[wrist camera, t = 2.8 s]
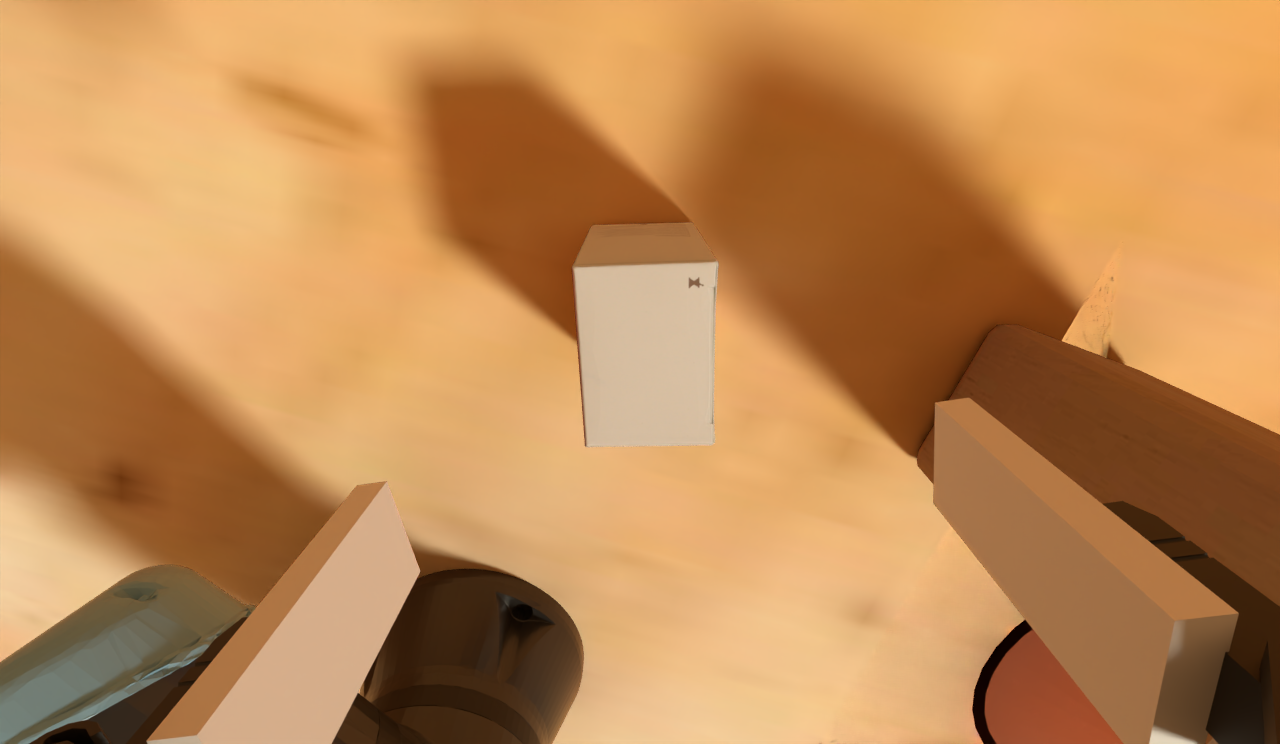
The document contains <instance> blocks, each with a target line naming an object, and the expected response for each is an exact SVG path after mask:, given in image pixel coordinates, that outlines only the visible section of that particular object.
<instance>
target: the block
mask: <svg viewBox="0 0 1280 744" xmlns="http://www.w3.org/2000/svg"><path fill="white" fill-rule="evenodd" d="M963 398H970V399H972V400H973V401H974V402H975V403H977V404H978V405H979V406H980V407H982V408H983V409H984V410H985V411H987V412H988V413H989V414H990V415H992V416H993V417H994V418H995V419H997V420H998V421H999V422H1000V423H1002V424H1003V425H1004V426H1005V427H1007V428H1008V429H1009V430H1010V431H1012V432H1013V433H1014V434H1015V435H1017V436H1018V437H1019V438H1020V439H1022V440H1023V441H1024V442H1025V443H1027V444H1028V445H1029V446H1030V447H1032V448H1033V449H1034V450H1035V451H1037V452H1038V453H1039V454H1040V455H1042V456H1043V457H1044V458H1045V459H1047V460H1048V461H1049V462H1050V463H1052V464H1053V465H1054V466H1055V467H1057V468H1058V469H1059V470H1060V471H1062V472H1063V473H1064V474H1065V475H1067V476H1068V477H1069V478H1070V479H1072V480H1073V481H1074V482H1075V483H1077V484H1078V485H1079V486H1080V487H1082V488H1083V489H1084V490H1085V491H1087V492H1088V493H1089V494H1090V495H1092V496H1093V497H1094V498H1095V499H1097V500H1098V501H1099V502H1100V503H1102V504H1103V503H1111V502H1118V501H1124V502H1126V503H1128V504H1131V505H1133V506H1135V507H1137V508H1140V509H1142V510H1144V511H1146V512H1149V513H1151V514H1153V515H1156V516H1158V517H1159V518H1160V519H1162V520H1163V521H1164V522H1166V523H1167V524H1169V525H1170V526H1171V527H1173V528H1174V529H1175V530H1177V531H1178V532H1179V533H1181V534H1182V535H1183V536H1185V539H1186V541H1189V540H1190V541H1192V542H1193V543H1194V544H1196V545H1197V546H1198V547H1200V548H1201V549H1202V550H1204V551H1205V552H1207V555H1208V557H1209V558H1215V559H1216V560H1217V561H1219V562H1220V563H1221V564H1223V565H1224V566H1226V567H1227V568H1228V569H1230V570H1231V571H1232V572H1234V573H1235V574H1236V575H1238V576H1239V577H1240V578H1242V579H1243V580H1244V581H1246V582H1247V583H1249V584H1250V585H1251V586H1253V587H1254V588H1255V589H1257V590H1258V591H1259V592H1261V593H1262V594H1263V595H1265V596H1266V597H1268V598H1269V599H1270V600H1272V601H1273V602H1274V603H1276V604H1277V605H1278V606H1280V435H1279V434H1277V433H1275V432H1272V431H1270V430H1268V429H1266V428H1264V427H1262V426H1259V425H1257V424H1255V423H1253V422H1251V421H1249V420H1246V419H1244V418H1242V417H1240V416H1238V415H1235V414H1233V413H1231V412H1229V411H1227V410H1225V409H1222V408H1220V407H1218V406H1216V405H1214V404H1211V403H1209V402H1207V401H1205V400H1203V399H1201V398H1198V397H1196V396H1194V395H1192V394H1190V393H1188V392H1185V391H1183V390H1181V389H1179V388H1177V387H1174V386H1172V385H1170V384H1168V383H1166V382H1164V381H1161V380H1159V379H1157V378H1155V377H1153V376H1150V375H1148V374H1146V373H1144V372H1142V371H1140V370H1137V369H1134V368H1132V367H1129V366H1126V365H1124V364H1121V363H1118V362H1116V361H1113V360H1110V359H1108V358H1105V357H1102V356H1100V355H1097V354H1094V353H1092V352H1089V351H1086V350H1084V349H1081V348H1078V347H1076V346H1073V345H1071V344H1068V343H1065V342H1063V341H1060V340H1057V339H1055V338H1052V337H1049V336H1047V335H1044V334H1041V333H1039V332H1036V331H1033V330H1031V329H1028V328H1025V327H1023V326H1020V325H1017V324H1014V325H997V326H996V327H995V328H994V329H993V330H991V331H990V332H989V333H988V335H987V337H986V338H985V340H984V342H983V343H982V345H981V347H980V348H979V350H978V352H977V354H976V355H975V357H974V359H973V360H972V362H971V364H970V365H969V367H968V369H967V370H966V372H965V374H964V375H963V377H962V379H961V380H960V382H959V384H958V385H957V387H956V389H955V390H954V392H953V394H952V395H951V397H950V399H949V400H956V399H963ZM949 400H948V401H949ZM934 433H935V424H934V426H933V427H932V429H931V431H930V432H929V434H928V436H927V437H926V439H925V441H924V442H923V444H922V446H921V447H920V449H919V451H918V456H917V464H918V467H919V468H920V469H921V470H922V471H923V473H924V474H925V475H926V476H927V477H928V478H929V480H930V481H931V482H932V483H933V484H934ZM1205 744H1218V743H1217V742H1216V741H1215V739H1214V738H1213V737H1212V736H1211V735H1210V734H1209V733H1208V735H1207V739H1206V743H1205Z"/></svg>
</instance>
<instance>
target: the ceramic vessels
mask: <svg viewBox="0 0 1280 744" xmlns="http://www.w3.org/2000/svg"><path fill="white" fill-rule="evenodd" d="M972 711H973V716H974V722H975V728H976V730H977V732H978V734H979V736H980V738H981V740H982V742H983V744H1123V742H1122V741H1121V740H1120V738H1119V737H1118V736H1117V735H1116V733H1115V732H1114V731H1113V730H1112V728H1111V727H1110V726H1109V725H1108V723H1107V722H1106V721H1105V720H1104V718H1103V717H1102V716H1101V714H1100V713H1099V712H1098V711H1097V709H1096V708H1095V707H1094V706H1093V704H1092V703H1091V702H1090V701H1089V699H1088V698H1087V697H1086V696H1085V694H1084V693H1083V692H1082V690H1081V689H1080V688H1079V687H1078V685H1077V684H1076V683H1075V682H1074V680H1073V679H1072V678H1071V677H1070V675H1069V674H1068V673H1067V672H1066V670H1065V669H1064V668H1063V666H1062V665H1061V664H1060V663H1059V661H1058V660H1057V659H1056V658H1055V656H1054V655H1053V654H1052V653H1051V651H1050V650H1049V649H1048V648H1047V646H1046V645H1045V644H1044V642H1043V641H1042V640H1041V639H1040V637H1039V636H1038V635H1037V634H1036V632H1035V631H1034V630H1033V629H1032V627H1031V626H1030V625H1029V624H1028V622H1027V621H1026V620H1024V621H1023V622H1021V623H1020V624H1019V625H1017V626H1016V627H1015V628H1014V629H1013V630H1012V631H1011V632H1010V633H1009V634H1008V635H1007V636H1006V637H1005V638H1004V639H1003V640H1002V642H1001V643H1000V644H999V645H998V646H997V647H996V648H995V650H994V651H993V653H992V654H991V656H990V657H989V659H988V660H987V662H986V663H985V665H984V667H983V668H982V670H981V673H980V676H979V678H978V681H977V684H976V686H975V689H974V698H973V707H972Z"/></svg>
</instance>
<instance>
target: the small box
mask: <svg viewBox="0 0 1280 744" xmlns="http://www.w3.org/2000/svg"><path fill="white" fill-rule="evenodd" d="M718 267H719V263H718V260H717V259H716V258H715V256H714V255H713V253H712V251H711V250H710V248H709V247H708V245H707V243H706V242H705V240H704V239H703V237H702V235H701V234H700V232H699V231H698V229H697V228H696V226H695V225H694V223H693V222H685V223H647V224H609V225H592V226H591V228H590V230H589V232H588V234H587V236H586V238H585V240H584V242H583V245H582V247H581V249H580V251H579V253H578V255H577V258H576V260H575V262H574V264H573V266H572V278H573V291H574V304H575V319H576V332H577V346H578V359H579V372H580V385H581V398H582V412H583V425H584V438H585V446H586V447H624V446H689V445H713V444H714V443H715V429H714V363H715V314H716V294H717V278H718Z"/></svg>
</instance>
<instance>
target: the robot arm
mask: <svg viewBox="0 0 1280 744" xmlns="http://www.w3.org/2000/svg"><path fill="white" fill-rule="evenodd" d="M933 503H934V505H935V506H936V507H937V509H938V510H939V511H940V512H941V514H942V515H943V516H944V517H945V519H946V520H947V521H948V522H949V524H950V525H951V526H952V527H953V529H954V530H955V531H956V533H957V534H958V535H959V536H960V538H961V539H962V540H963V541H964V543H965V544H966V545H967V546H968V548H969V549H970V550H971V551H972V553H973V554H974V555H975V557H976V558H977V559H978V560H979V562H980V563H981V564H982V565H983V567H984V568H985V569H986V570H987V572H988V573H989V574H990V576H991V577H992V578H993V579H994V581H995V582H996V583H997V584H998V586H999V587H1000V588H1001V589H1002V591H1003V592H1004V593H1005V594H1006V596H1007V597H1008V598H1009V600H1010V601H1011V602H1012V603H1013V605H1014V606H1015V607H1016V608H1017V610H1018V611H1019V612H1020V613H1021V615H1022V616H1023V617H1024V618H1025V620H1026V621H1027V622H1028V624H1029V625H1030V626H1031V627H1032V629H1033V630H1034V631H1035V632H1036V634H1037V635H1038V636H1039V637H1040V639H1041V640H1042V641H1043V642H1044V644H1045V645H1046V646H1047V648H1048V649H1049V650H1050V651H1051V653H1052V654H1053V655H1054V656H1055V658H1056V659H1057V660H1058V661H1059V663H1060V664H1061V665H1062V666H1063V668H1064V669H1065V670H1066V672H1067V673H1068V674H1069V675H1070V677H1071V678H1072V679H1073V680H1074V682H1075V683H1076V684H1077V685H1078V687H1079V688H1080V689H1081V690H1082V692H1083V693H1084V694H1085V696H1086V697H1087V698H1088V699H1089V701H1090V702H1091V703H1092V704H1093V706H1094V707H1095V708H1096V709H1097V711H1098V712H1099V713H1100V714H1101V716H1102V717H1103V718H1104V720H1105V721H1106V722H1107V723H1108V725H1109V726H1110V727H1111V728H1112V730H1113V731H1114V732H1115V733H1116V735H1117V736H1118V737H1119V738H1120V740H1121V741H1122V742H1123V744H1205V743H1206V739H1207V735H1208V733H1209V734H1210V735H1211V736H1212V737H1213V738H1214V739H1215V741H1216V742H1217V743H1218V744H1280V606H1278V605H1277V604H1276V603H1274V602H1273V601H1272V600H1270V599H1269V598H1268V597H1266V596H1265V595H1263V594H1262V593H1261V592H1259V591H1258V590H1257V589H1255V588H1254V587H1253V586H1251V585H1250V584H1249V583H1247V582H1246V581H1244V580H1243V579H1242V578H1240V577H1239V576H1238V575H1236V574H1235V573H1234V572H1232V571H1231V570H1230V569H1228V568H1227V567H1226V566H1224V565H1223V564H1221V563H1220V562H1219V561H1217V560H1216V559H1215V558H1209V557H1208V555H1207V552H1205V551H1204V550H1202V549H1201V548H1200V547H1198V546H1197V545H1196V544H1194V543H1193V542H1192V541H1190V540H1189V541H1186V539H1185V536H1183V535H1182V534H1181V533H1179V532H1178V531H1177V530H1175V529H1174V528H1173V527H1171V526H1170V525H1169V524H1167V523H1166V522H1164V521H1163V520H1162V519H1160V518H1159V517H1158V516H1156V515H1153V514H1151V513H1149V512H1146V511H1144V510H1142V509H1140V508H1137V507H1135V506H1133V505H1131V504H1128V503H1126V502H1124V501H1118V502H1111V503H1103V504H1102V503H1100V502H1099V501H1098V500H1097V499H1095V498H1094V497H1093V496H1092V495H1090V494H1089V493H1088V492H1087V491H1085V490H1084V489H1083V488H1082V487H1080V486H1079V485H1078V484H1077V483H1075V482H1074V481H1073V480H1072V479H1070V478H1069V477H1068V476H1067V475H1065V474H1064V473H1063V472H1062V471H1060V470H1059V469H1058V468H1057V467H1055V466H1054V465H1053V464H1052V463H1050V462H1049V461H1048V460H1047V459H1045V458H1044V457H1043V456H1042V455H1040V454H1039V453H1038V452H1037V451H1035V450H1034V449H1033V448H1032V447H1030V446H1029V445H1028V444H1027V443H1025V442H1024V441H1023V440H1022V439H1020V438H1019V437H1018V436H1017V435H1015V434H1014V433H1013V432H1012V431H1010V430H1009V429H1008V428H1007V427H1005V426H1004V425H1003V424H1002V423H1000V422H999V421H998V420H997V419H995V418H994V417H993V416H992V415H990V414H989V413H988V412H987V411H985V410H984V409H983V408H982V407H980V406H979V405H978V404H977V403H975V402H974V401H973V400H972V399H970V398H963V399H956V400H949V401H942V402H935V433H934V491H933ZM419 573H420V569H419V566H418V564H417V561H416V558H415V555H414V553H413V550H412V547H411V545H410V542H409V539H408V537H407V534H406V531H405V529H404V526H403V523H402V520H401V518H400V515H399V512H398V510H397V507H396V504H395V502H394V499H393V496H392V494H391V491H390V488H389V485H388V483H387V481H385V482H378V483H371V484H364V485H357V486H356V487H355V488H354V490H353V491H352V492H351V493H350V495H349V496H348V497H347V498H346V499H345V501H344V502H343V503H342V504H341V505H340V507H339V508H338V509H337V510H336V512H335V513H334V514H333V515H332V516H331V518H330V519H329V520H328V521H327V522H326V524H325V525H324V526H323V527H322V529H321V530H320V531H319V532H318V533H317V535H316V536H315V537H314V538H313V539H312V541H311V542H310V543H309V544H308V545H307V547H306V548H305V549H304V550H303V552H302V553H301V554H300V555H299V556H298V558H297V559H296V560H295V561H294V562H293V564H292V565H291V566H290V567H289V569H288V570H287V571H286V572H285V573H284V575H283V576H282V577H281V578H280V579H279V581H278V582H277V583H276V584H275V586H274V587H273V588H272V589H271V590H270V592H269V593H268V594H267V595H266V596H265V598H264V599H263V600H262V601H261V602H260V604H259V605H258V606H257V607H255V606H254V605H244V604H242V603H241V602H239V601H238V600H236V599H235V598H233V597H232V596H230V595H229V594H228V593H226V592H225V591H223V590H222V589H220V588H219V587H217V586H216V585H214V584H213V583H211V582H210V581H208V580H207V579H205V578H204V577H203V576H201V575H200V574H198V573H197V572H195V571H193V570H191V569H189V568H186V567H183V566H178V565H158V566H152V567H148V568H145V569H141V570H139V571H136V572H134V573H132V574H130V575H129V576H127V577H125V578H124V579H122V580H120V581H119V582H117V583H116V584H114V585H113V586H111V587H110V588H108V589H107V590H105V591H104V592H103V593H101V594H100V595H98V596H97V597H95V598H94V599H92V600H91V601H89V602H88V603H86V604H85V605H83V606H82V607H80V608H79V609H78V610H76V611H75V612H73V613H72V614H70V615H69V616H67V617H66V618H64V619H63V620H61V621H60V622H58V623H57V624H55V625H54V626H53V627H51V628H50V629H48V630H47V631H45V632H44V633H42V634H41V635H39V636H38V637H36V638H35V639H33V640H32V641H31V642H29V643H28V644H26V645H25V646H23V647H22V648H20V649H19V650H17V651H16V652H14V653H13V654H12V655H10V656H9V657H7V658H6V659H4V660H3V661H1V662H0V744H552V743H553V741H554V739H555V737H556V735H557V733H558V731H559V729H560V727H561V725H562V723H563V721H564V719H565V717H566V715H567V713H568V711H569V709H570V707H571V705H572V703H573V701H574V699H575V697H576V695H577V693H578V690H579V687H580V683H581V679H582V672H583V663H584V651H583V645H582V640H581V637H580V634H579V632H578V629H577V627H576V626H575V624H574V622H573V620H572V619H571V617H570V616H569V615H568V613H567V612H566V611H565V610H564V609H563V607H562V606H561V605H560V604H559V603H558V602H557V601H555V600H554V599H553V598H552V597H551V596H549V595H548V594H547V593H545V592H544V591H542V590H541V589H539V588H537V587H536V586H534V585H532V584H530V583H528V582H526V581H524V580H521V579H519V578H516V577H513V576H510V575H507V574H503V573H499V572H494V571H488V570H480V569H455V570H447V571H441V572H437V573H433V574H430V575H426V576H424V577H421V578H419V579H417V577H418V575H419ZM416 579H417V580H416ZM359 690H360V694H359V693H358V692H359Z"/></svg>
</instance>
